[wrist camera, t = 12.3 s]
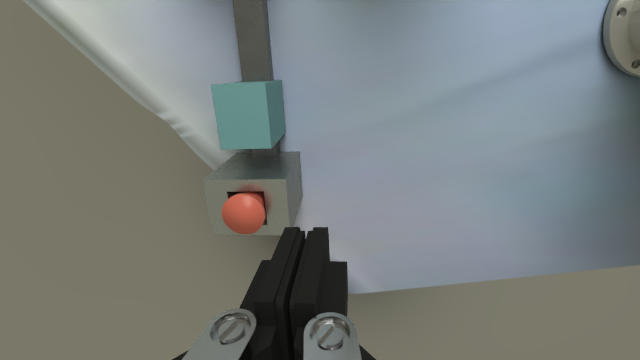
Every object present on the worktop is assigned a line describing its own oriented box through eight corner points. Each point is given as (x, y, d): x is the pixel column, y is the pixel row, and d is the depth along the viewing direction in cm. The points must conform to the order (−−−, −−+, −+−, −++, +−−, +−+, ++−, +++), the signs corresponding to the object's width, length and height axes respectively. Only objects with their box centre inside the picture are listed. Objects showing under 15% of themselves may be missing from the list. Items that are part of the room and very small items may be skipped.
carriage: (281, 80, 34) (265, 82, 27) (285, 132, 36) (271, 148, 29) (238, 81, 34) (210, 85, 27) (245, 133, 36) (221, 149, 29)
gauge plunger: (272, 178, 31) (261, 195, 27) (276, 212, 32) (266, 234, 28) (235, 178, 31) (218, 195, 27) (240, 212, 33) (225, 234, 28)
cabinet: (299, 151, 37) (285, 179, 28) (302, 195, 39) (290, 235, 30) (236, 152, 38) (202, 180, 28) (243, 196, 40) (212, 235, 30)
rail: (260, -69, 30) (255, -78, 28) (279, 152, 37) (276, 156, 35) (230, -66, 30) (223, -75, 28) (256, 152, 37) (251, 156, 36)
